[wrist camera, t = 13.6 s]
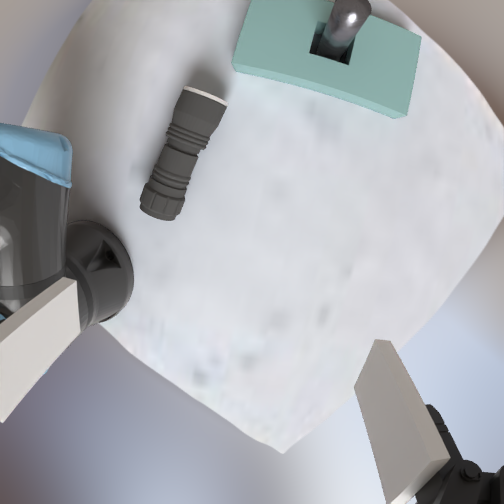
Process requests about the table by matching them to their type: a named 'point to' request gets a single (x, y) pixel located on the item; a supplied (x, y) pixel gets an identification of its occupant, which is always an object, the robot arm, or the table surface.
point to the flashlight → (181, 152)
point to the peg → (342, 27)
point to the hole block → (326, 70)
